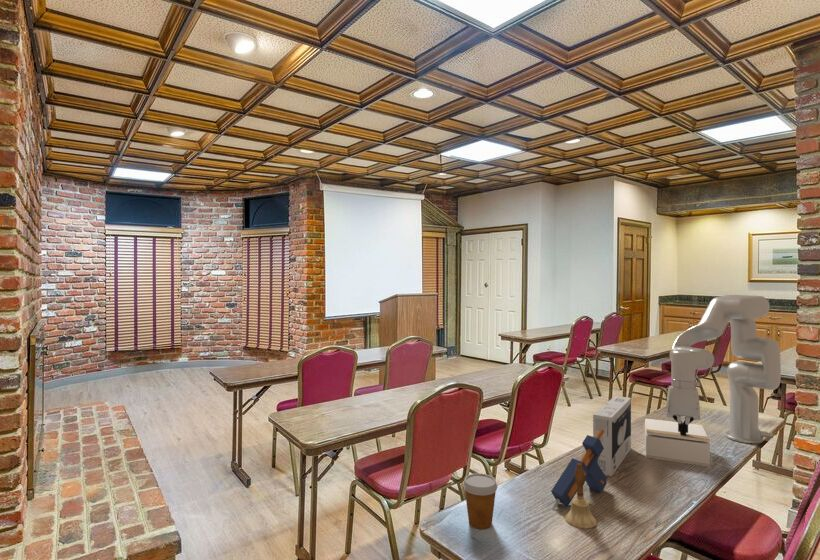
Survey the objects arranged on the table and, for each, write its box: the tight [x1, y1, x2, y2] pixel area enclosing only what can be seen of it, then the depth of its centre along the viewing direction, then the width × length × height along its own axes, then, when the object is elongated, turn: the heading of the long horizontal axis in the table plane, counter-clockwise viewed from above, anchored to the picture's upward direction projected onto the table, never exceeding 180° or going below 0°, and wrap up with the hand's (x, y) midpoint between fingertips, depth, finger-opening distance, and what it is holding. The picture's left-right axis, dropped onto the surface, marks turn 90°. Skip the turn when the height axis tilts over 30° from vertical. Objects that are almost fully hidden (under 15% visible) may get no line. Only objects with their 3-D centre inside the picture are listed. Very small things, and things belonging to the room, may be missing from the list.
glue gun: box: [550, 429, 608, 511], centre depth 142 cm, size 6×31×15 cm
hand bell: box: [564, 463, 598, 530], centre depth 127 cm, size 8×8×16 cm
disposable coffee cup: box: [462, 472, 499, 530], centre depth 126 cm, size 10×10×12 cm
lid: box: [644, 418, 710, 443], centre depth 174 cm, size 20×18×1 cm
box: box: [644, 422, 711, 468], centre depth 174 cm, size 20×18×8 cm
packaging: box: [592, 395, 632, 477], centre depth 169 cm, size 30×6×20 cm, turn 143°
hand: (683, 434), depth 167 cm, fingers closed
